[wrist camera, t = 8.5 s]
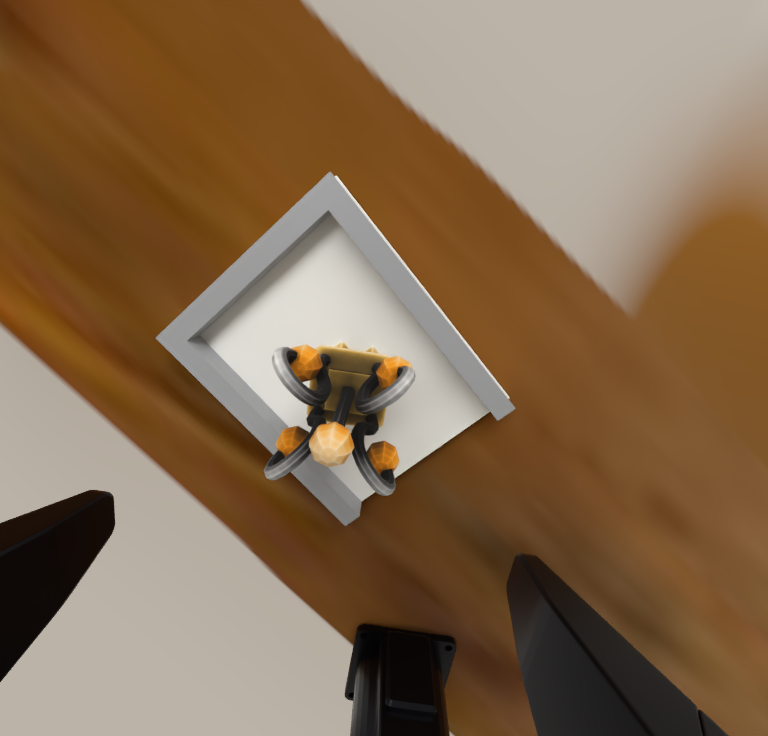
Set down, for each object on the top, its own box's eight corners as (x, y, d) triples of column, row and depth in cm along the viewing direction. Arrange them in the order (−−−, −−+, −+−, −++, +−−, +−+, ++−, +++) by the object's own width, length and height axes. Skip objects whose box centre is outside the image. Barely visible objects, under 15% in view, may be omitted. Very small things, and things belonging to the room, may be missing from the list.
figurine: (421, 333, 18) (416, 393, 10) (404, 425, 19) (387, 539, 12) (322, 315, 18) (244, 361, 10) (312, 407, 20) (238, 508, 12)
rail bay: (504, 390, 20) (517, 407, 18) (348, 500, 22) (343, 527, 20) (339, 179, 17) (332, 169, 15) (179, 329, 19) (153, 339, 17)
